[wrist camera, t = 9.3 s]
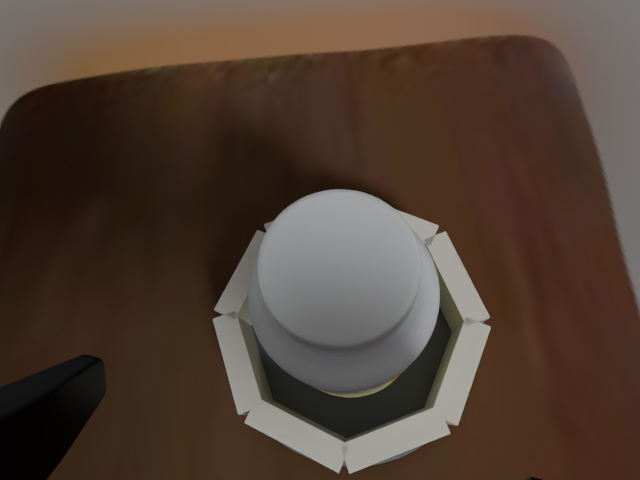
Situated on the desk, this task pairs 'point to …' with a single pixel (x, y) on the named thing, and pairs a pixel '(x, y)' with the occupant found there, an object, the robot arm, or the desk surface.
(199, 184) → the desk surface
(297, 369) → the supplement bottle
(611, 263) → the desk surface
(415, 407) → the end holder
